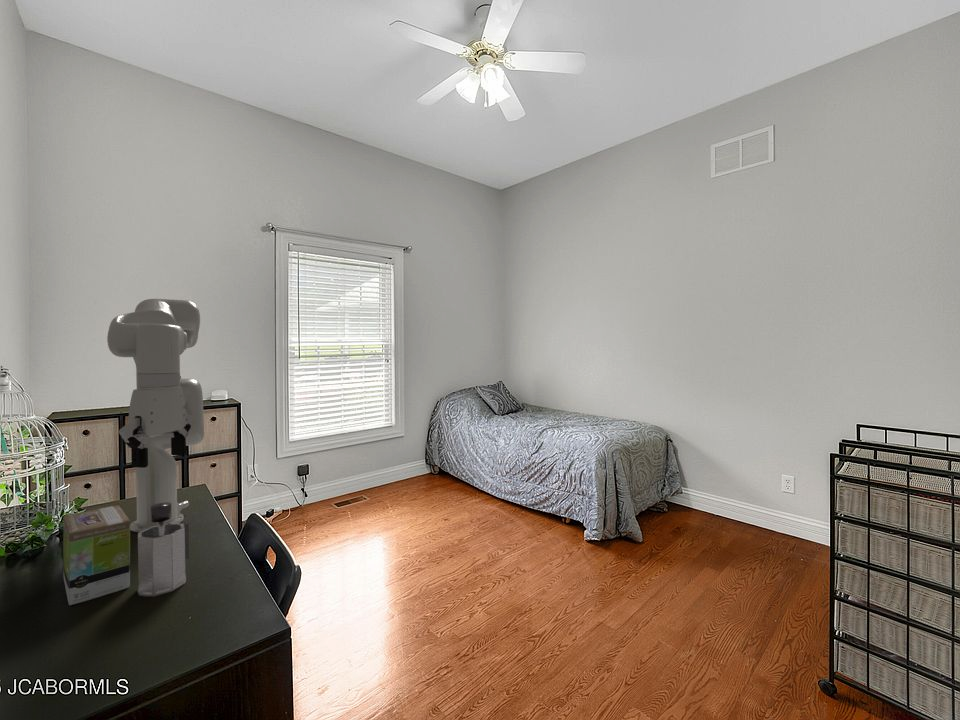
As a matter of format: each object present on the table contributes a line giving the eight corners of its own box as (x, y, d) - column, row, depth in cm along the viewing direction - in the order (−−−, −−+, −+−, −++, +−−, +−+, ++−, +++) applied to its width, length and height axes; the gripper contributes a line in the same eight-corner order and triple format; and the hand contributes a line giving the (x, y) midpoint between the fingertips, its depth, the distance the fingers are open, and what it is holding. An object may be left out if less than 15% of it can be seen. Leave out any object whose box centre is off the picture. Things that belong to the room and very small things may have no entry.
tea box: (132, 587, 93) (131, 519, 93) (67, 608, 86) (66, 533, 85) (120, 564, 103) (119, 502, 103) (62, 580, 96) (60, 514, 96)
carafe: (170, 569, 101) (169, 518, 100) (203, 571, 100) (202, 519, 99) (127, 595, 90) (126, 537, 90) (163, 597, 89) (162, 539, 89)
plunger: (161, 559, 97) (160, 500, 96) (183, 561, 96) (182, 501, 96) (139, 572, 91) (138, 509, 91) (162, 573, 91) (161, 510, 90)
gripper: (176, 378, 102) (177, 450, 102) (103, 384, 85) (105, 471, 85) (205, 378, 101) (206, 451, 102) (137, 385, 84) (139, 473, 84)
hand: (160, 460), depth 93 cm, fingers open, 9 cm apart
